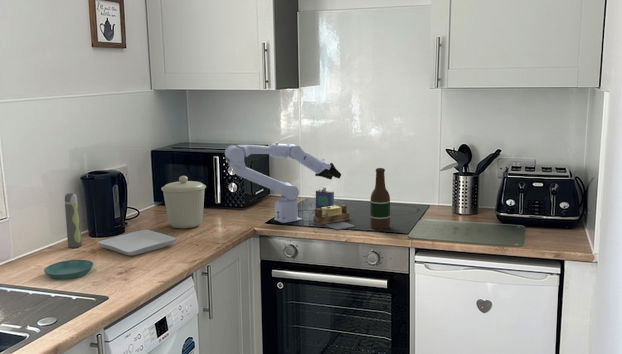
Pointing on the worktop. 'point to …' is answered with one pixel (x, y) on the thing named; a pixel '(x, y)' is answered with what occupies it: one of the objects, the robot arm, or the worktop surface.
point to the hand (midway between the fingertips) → (336, 177)
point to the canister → (184, 202)
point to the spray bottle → (72, 221)
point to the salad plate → (137, 242)
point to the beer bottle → (380, 203)
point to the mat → (340, 225)
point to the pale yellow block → (331, 210)
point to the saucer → (68, 269)
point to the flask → (324, 198)
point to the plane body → (323, 219)
